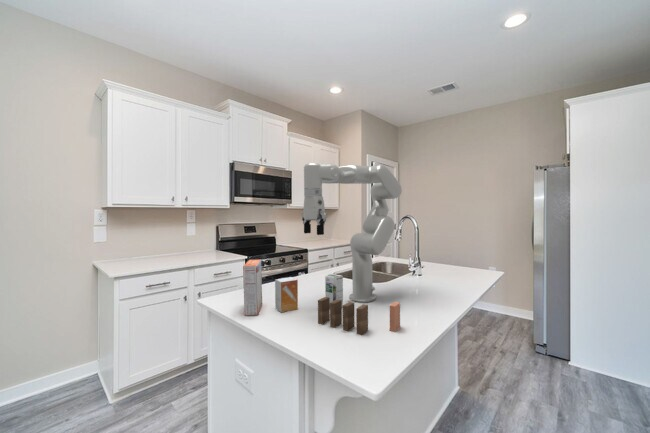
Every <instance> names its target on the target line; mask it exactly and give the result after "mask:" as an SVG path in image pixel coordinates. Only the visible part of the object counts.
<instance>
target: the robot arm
mask: <svg viewBox="0 0 650 433" xmlns="http://www.w3.org/2000/svg"><path fill="white" fill-rule="evenodd" d="M323 184H343V185H353V184H355V185H357V184H359V185H360V184H363V185H365V184H366V185H370V184H373V185H372V186H371V188H370V196H371V200H372V207H371V209H370V210H369V212H368V214H367V215H366V217H365V219H364V221H363V223H362V230H363V232H358V233H357V232H356V233H355V234H353V235H352V237H351V238H350V241H349V242H350V243H349V246H350V250H351V251H350V252H351V256H352V257H351V260H352V261H351V262H352V266H351V268H352V273H351V274H352V293H351V294H349V300H351V301H352V302H357V303H370V302H373V301H375V300H376V295H375V294H374V293H373V291H375V290H376V289H375V287H374V286H373V259H372V257H371V255H372V256H378V255H381V254H382V253H383V252H384V250H385V248H386V247H387V244H388V243H389V240H390V239H391V237H392V235H393V232H394V231H395V221H394V220H393V218H392V217H390V216H388V215H389V206H388V203H387V200H395V199H397V198H399V197H400V196H401V194H402V185H401V183H400V182H399V180H397V178H396V176H395V175H394V174H393V173H392V171H391V170H390V169H389V168H388V167H387V166H386V165H384V164H377V165H358V164H357V165H355V164H352V165H351V164H350V165H344V166H337V165H336V164H333V163H329V164H328V163H327V164H320V163H305V165H304V166H303V197H304V200H303V212H302V213H301V217H302V219H301V220H302V224H303V234H312V232H311V231H312V229H311V228H312V226H311V221H315V222H316V224H317V225H316V235H317V236H321V235H325V222H326V220H327V215H328V214H327V213H326V212H325V211H326V209H325V207H326V206H325V201H324V197H323Z"/></svg>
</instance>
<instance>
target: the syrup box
mask: <svg viewBox="0 0 650 433" xmlns="http://www.w3.org/2000/svg"><path fill="white" fill-rule="evenodd" d="M324 281H325V282H324V284H325V287H324V288H325V295H324V297H329V298H330V302H332V301H334V300H336V299H339V300H342V309H343V305H344V302H343V300H344V294H343V293H344V288H343V287H344V285H343V284H344V276H343V275H339V274H336V273H330V274H327V275H325V277H324Z"/></svg>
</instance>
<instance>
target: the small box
mask: <svg viewBox="0 0 650 433" xmlns="http://www.w3.org/2000/svg"><path fill="white" fill-rule="evenodd" d="M298 281H299V280H298V279H296V278H295V277H292V276H289V277H281V278H278V279H276V278H275V279H274V284H275V285H274V288H275V289H274V290H275V292H274V295H275V296H274V297H275V298H274V299H275V301H274V303H275V306H274V307H275V309H276V310H277V311H278V312H280V313H285V312H289V311H294V310H299V309H298V308H299V307H298V306H299V305H298V304H299V302H298V301H299V299H298V297H299V294H298V289H299V288H298V285H299V284H298V283H299V282H298Z"/></svg>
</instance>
